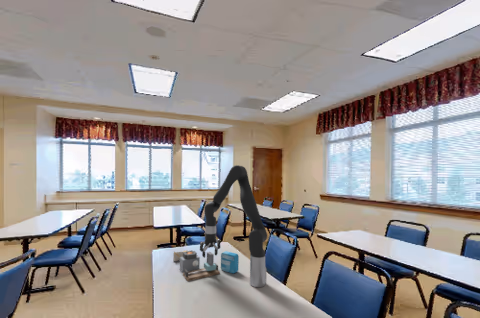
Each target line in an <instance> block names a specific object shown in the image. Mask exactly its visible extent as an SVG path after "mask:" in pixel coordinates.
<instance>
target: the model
mask: <svg viewBox="0 0 480 318" xmlns="http://www.w3.org/2000/svg"><path fill="white" fill-rule="evenodd" d="M185 251H189V250H182V251H173V262H177V261H178V260H179V261H180V257H183V253H184V252H185Z"/></svg>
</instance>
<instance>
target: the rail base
mask: <svg viewBox="0 0 480 318" xmlns="http://www.w3.org/2000/svg"><path fill="white" fill-rule="evenodd" d="M213 263H214V264H216V270H211V271H207V270H206V269H205V268H204V267H203V268H199V269H197V270H192V271H187V270H186V269H184V272H182V276H183V277H184V278H185V280H186V281H187V282H190V281H194V280H199V279H204V278H207V277H211V276H215V275H221V274H220V273H221V271H220V270H219V265H218V264H217V263H216V262H213Z"/></svg>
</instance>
